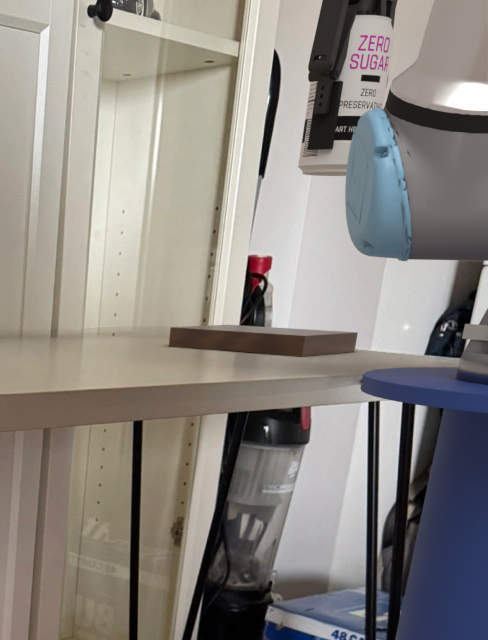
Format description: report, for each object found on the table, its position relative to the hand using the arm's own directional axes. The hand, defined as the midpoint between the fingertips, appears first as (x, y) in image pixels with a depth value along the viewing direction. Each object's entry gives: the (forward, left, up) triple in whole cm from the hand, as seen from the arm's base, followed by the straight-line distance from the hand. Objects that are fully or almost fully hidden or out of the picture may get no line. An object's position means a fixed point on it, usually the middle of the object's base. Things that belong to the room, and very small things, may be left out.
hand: (337, 152), depth 119 cm
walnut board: (+12, -11, -23) cm, 28 cm away
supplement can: (0, 0, -2) cm, 2 cm away
